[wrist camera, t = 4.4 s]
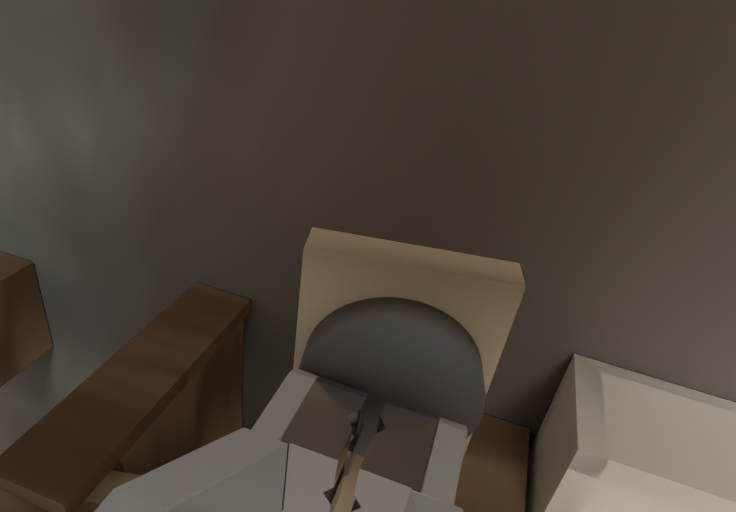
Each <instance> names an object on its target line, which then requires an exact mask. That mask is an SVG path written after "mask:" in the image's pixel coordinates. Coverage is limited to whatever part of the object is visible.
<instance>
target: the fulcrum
mask: <svg viewBox="0 0 736 512" xmlns="http://www.w3.org/2000/svg"><path fill="white" fill-rule="evenodd" d="M250 312H251V299H248V298H244V297H241V296H238V295H235V294H232V293H229V292H226V291H223V290H219V289H216V288H213V287H210V286H207V285H204V284H201V283H198V282H196V283H195V284H194V285H192V286H191V287H190V288H189V289H188V290H187V291H186V292H185V293H183V294H182V295H181V296H180V297H179V298H178V299H177V300H175V301H174V302H173V303H172V304H171V305H170V306H169V307H168V308H166V309H165V310H164V311H163V312H162V313H161V314H160V315H159V316H157V317H156V318H155V319H154V320H153V321H152V322H151V323H149V324H148V325H147V326H146V327H145V328H144V329H143V330H142V331H140V332H139V333H138V334H137V335H136V336H135V337H134V338H132V339H131V340H130V341H129V342H128V343H127V344H126V345H125V346H123V347H122V348H121V349H120V350H119V351H118V352H117V353H115V354H114V355H113V356H112V357H111V358H110V359H109V360H108V361H106V362H105V363H104V364H103V365H102V366H101V367H100V368H98V369H97V370H96V371H95V372H94V373H93V374H92V375H91V376H89V377H88V378H87V379H86V380H85V381H84V382H83V383H82V384H80V385H79V386H78V387H77V388H76V389H75V390H74V391H72V392H71V393H70V394H69V395H68V396H67V397H66V398H65V399H63V400H62V401H61V402H60V403H59V404H58V405H57V406H55V407H54V408H53V409H52V410H51V411H50V412H49V413H48V414H46V415H45V416H44V417H43V418H42V419H41V420H40V421H38V422H37V423H36V424H35V425H34V426H33V427H32V428H31V429H29V430H28V431H27V432H26V433H25V434H24V435H23V436H21V437H20V438H19V439H18V440H17V441H16V442H15V443H14V444H12V445H11V446H10V447H9V448H8V449H7V450H6V451H5V452H3V453H2V454H1V455H0V490H2V491H4V492H7V493H9V494H11V495H13V496H16V497H18V498H20V499H22V500H25V501H27V502H29V503H31V504H34V505H36V506H38V507H40V508H43V509H45V510H47V511H49V512H75V511H76V510H77V509H78V507H79V506H80V505H81V504H82V503H83V502H84V501H85V499H86V498H87V497H88V496H89V495H90V494H91V493H92V491H93V490H94V489H95V488H96V487H97V486H98V485H99V484H100V482H101V481H102V480H103V479H104V478H105V477H106V476H107V474H108V473H109V472H110V471H111V470H114V471H119V472H125V473H130V474H136V475H141V476H142V475H144V474H146V473H148V472H150V471H152V470H154V469H157V468H159V467H161V466H163V465H165V464H167V463H169V462H171V461H173V460H175V459H178V458H180V457H182V456H184V455H186V454H188V453H190V452H192V451H194V450H197V449H199V448H201V447H203V446H205V445H207V444H209V443H211V442H213V441H215V440H218V439H220V438H222V437H224V436H226V435H228V434H230V433H232V432H234V431H237V430H239V429H241V428H242V386H243V327H244V319H245V318H246V317H247V315H248V314H249V313H250ZM52 347H53V344H52V340H51V336H50V332H49V327H48V323H47V319H46V315H45V311H44V306H43V302H42V298H41V294H40V290H39V285H38V281H37V277H36V273H35V268H34V264H33V262H31V261H28V260H25V259H22V258H19V257H16V256H13V255H10V254H7V253H4V252H1V251H0V387H1V386H2V385H4V384H5V383H6V382H7V381H9V380H10V379H11V378H13V377H14V376H15V375H17V374H18V373H19V372H21V371H22V370H23V369H25V368H26V367H27V366H29V365H30V364H31V363H32V362H34V361H35V360H36V359H38V358H39V357H40V356H42V355H43V354H44V353H46V352H47V351H48V350H50V349H51V348H52ZM529 433H530V429H529V428H526V427H523V426H520V425H517V424H514V423H511V422H508V421H505V420H502V419H499V418H496V417H493V416H490V415H487V414H483V417H482V419H481V421H480V423H479V425H478V426H477V428H476V429H475V431H474V432H473V433H472V436H471V439H470V441H469V444H468V447H467V449H466V452H465V455H464V458H463V460H462V464H461V469H460V474H459V480H458V485H457V490H456V496H455V501H454V505H455V506H457V507H460V508H462V509H463V511H464V512H525V500H526V483H527V466H528V450H529Z"/></svg>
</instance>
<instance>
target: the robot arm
mask: <svg viewBox="0 0 736 512" xmlns="http://www.w3.org/2000/svg"><path fill="white" fill-rule="evenodd" d="M368 402H369V394H367V393H365V392H362V391H359V390H356V389H354V388H351V387H348V386H346V385H343V384H340V383H337V382H335V381H332V380H329V379H327V378H324V377H321V376H317V375H314V374H312V373H309V372H306V371H303V370H301V369H298V368H294V369H293V370H291V371H290V372H289V373H288V375H287V376H286V378H285V379H284V381H283V382H282V384H281V385H280V387H279V388H278V390H277V391H276V393H275V394H274V396H273V397H272V399H271V400H270V402H269V403H268V405H267V406H266V408H265V409H264V411H263V412H262V414H261V415H260V417H259V418H258V420H257V421H256V423H255V424H254V426H253V427H252V429H251V430H250V429H247V428H244V427H243V428H241V429H239V430H237V431H234V432H232V433H230V434H228V435H226V436H224V437H222V438H220V439H218V440H215V441H213V442H211V443H209V444H207V445H205V446H203V447H201V448H199V449H197V450H194V451H192V452H190V453H188V454H186V455H184V456H182V457H180V458H178V459H175V460H173V461H171V462H169V463H167V464H165V465H163V466H161V467H159V468H157V469H154V470H152V471H150V472H148V473H146V474H144V475H142V476H140V477H138V478H135V479H133V480H131V481H129V482H127V483H125V484H123V485H121V486H119V487H116V488H114V489H113V490H112V491H111V493H110V494H109V495H108V496H107V497H106V498H105V500H104V501H103V502H102V503H101V504H100V505H99V507H98V508H97V509H96V510H95V511H94V512H281V511H283V512H333V511H334V509H335V506H336V504H337V501H338V499H339V497H340V493H341V488H342V483H343V478H344V477H345V476H347V475H349V472H350V470H351V467H352V465H353V462H354V459H355V456H356V453H357V450H358V447H359V444H360V440H361V437H362V432H363V428H364V424H363V422H362V420H363V418H364V415H365V413H366V411H367V408H368ZM467 432H468V430H467V426H465V425H462V424H459V423H456V422H453V421H450V420H447V419H444V418H441V417H440V418H439V417H438V416H435V415H432V414H429V413H426V412H423V411H420V410H417V409H414V408H411V407H408V406H405V405H402V404H399V403H396V402H393V401H390V400H387V401H386V403H385V405H384V408H383V410H382V413H381V415H380V419H379V423H378V427H377V432H376V434H375V435H373V436H372V438H371V441H370V443H369V446H368V449H367V451H366V454H365V456H364V459H363V462H362V464H361V467H360V470H359V475H358V479H357V484H356V488H355V493H354V496H355V497H356V499H355V501H354V504H353V507H352V509H351V512H464V511H463V509H462V508H460V507H457V506H455V505H454V501H455V496H456V490H457V485H458V480H459V474H460V469H461V464H462V458H463V453H464V448H465V442H466V437H467Z"/></svg>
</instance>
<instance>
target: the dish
mask: <svg viewBox="0 0 736 512" xmlns="http://www.w3.org/2000/svg"><path fill="white" fill-rule="evenodd" d="M525 512H736V403H735V402H732V401H729V400H725V399H722V398H719V397H715V396H712V395H709V394H706V393H702V392H699V391H696V390H692V389H689V388H686V387H682V386H679V385H676V384H673V383H669V382H666V381H663V380H659V379H656V378H653V377H649V376H646V375H643V374H640V373H636V372H633V371H630V370H626V369H623V368H620V367H616V366H613V365H610V364H607V363H603V362H600V361H597V360H593V359H590V358H587V357H583V356H580V355H577V354H574V355H573V357H572V360H571V362H570V364H569V366H568V368H567V370H566V372H565V375H564V377H563V379H562V381H561V383H560V385H559V388H558V390H557V392H556V394H555V396H554V398H553V400H552V403H551V405H550V407H549V409H548V411H547V413H546V416H545V418H544V420H543V422H542V424H541V426H540V428H539V431H538V433H537V435H536V437H535V439H534V441H533V444H532V446H531V448H530V450H529V452H528V466H527V483H526V500H525Z"/></svg>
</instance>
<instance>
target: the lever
mask: <svg viewBox="0 0 736 512" xmlns="http://www.w3.org/2000/svg"><path fill="white" fill-rule="evenodd" d="M525 288H526V285H525V281H524V277H523V274H522V270H521V267H520V263H516V262H511V261H505V260H499V259H493V258H488V257H482V256H476V255H470V254H465V253H459V252H453V251H447V250H442V249H436V248H430V247H424V246H419V245H413V244H407V243H401V242H396V241H390V240H384V239H378V238H373V237H367V236H361V235H355V234H350V233H344V232H338V231H332V230H327V229H321V228H315V227H312V229H311V231H310V234H309V236H308V239H307V241H306V243H305V246H304V249H303V260H302V272H301V283H300V295H299V307H298V318H297V330H296V341H295V353H294V364H293V369H294V368H298V369H301V370H303V371H306V372H309V373H312V374H314V375H317V376H321V377H324V378H327V379H329V380H332V381H335V382H337V383H340V384H343V385H346V386H348V387H351V388H354V389H356V390H359V391H362V392H365V393H367V394H369V402H368V408H367V411H366V413H365V415H364V418H363V420H362V422H363V424H364V428H363V432H362V437H361V440H360V444H359V447H358V450H357V453H356V456H355V459H354V462H353V465H352V467H351V470H350V472H349V475H347V476H345V477H344V478H343V483H342V488H341V493H340V497H339V499H338V501H337V504H336V506H335V509H334V511H333V512H351V509H352V507H353V504H354V501H355V499H356V497H355V496H354V493H355V488H356V484H357V479H358V475H359V470H360V467H361V464H362V462H363V459H364V456H365V454H366V451H367V449H368V446H369V443H370V441H371V438H372V436H373V435H375V434H376V432H377V427H378V423H379V419H380V415H381V413H382V410H383V408H384V405H385V403H386V401H387V400H390V401H393V402H396V403H399V404H402V405H405V406H408V407H411V408H414V409H417V410H420V411H423V412H426V413H429V414H432V415H435V416H438V417H439V418H440V417H441V418H444V419H447V420H450V421H453V422H456V423H459V424H462V425H465V426H467V430H468V432H467V437H466V442H465V448H464V453H463V458H464V455H465V452H466V449H467V447H468V444H469V441H470V439H471V436H472V433H473V432H474V431H475V429H476V428H477V426H478V425H479V423H480V421H481V419H482V417H483V414H484V410H485V404H486V395H487V392H488V389H489V387H490V384H491V381H492V378H493V376H494V373H495V370H496V368H497V365H498V362H499V359H500V357H501V354H502V351H503V348H504V346H505V343H506V340H507V337H508V335H509V332H510V329H511V327H512V324H513V321H514V318H515V316H516V313H517V310H518V307H519V305H520V302H521V299H522V296H523V294H524V291H525ZM3 452H5V450H0V455H1V454H2V453H3ZM463 458H462V460H463ZM140 476H141V475H136V474H130V473H125V472H119V471H114V470H111V471H110V472H109V473H108V474H107V476H106V477H105V478H104V479H103V480H102V481H101V482H100V484H99V485H98V486H97V487H96V488H95V489H94V490H93V491H92V493H91V494H90V495H89V496H88V497H87V498H86V499H85V501H84V502H83V503H82V504H81V505H80V506H79V507H78V509H77V510H76V511H75V512H94V511H95V510H96V509H97V508H98V507H99V505H100V504H101V503H102V502H103V501H104V500H105V498H106V497H107V496H108V495H109V494H110V493H111V491H112V490H113V489H114V488H116V487H119V486H121V485H123V484H125V483H127V482H129V481H131V480H133V479H135V478H138V477H140ZM0 512H49V511H47V510H45V509H43V508H40V507H38V506H36V505H34V504H31V503H29V502H27V501H25V500H22V499H20V498H18V497H16V496H13V495H11V494H9V493H7V492H4V491H2V490H0ZM281 512H283V511H281Z"/></svg>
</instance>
